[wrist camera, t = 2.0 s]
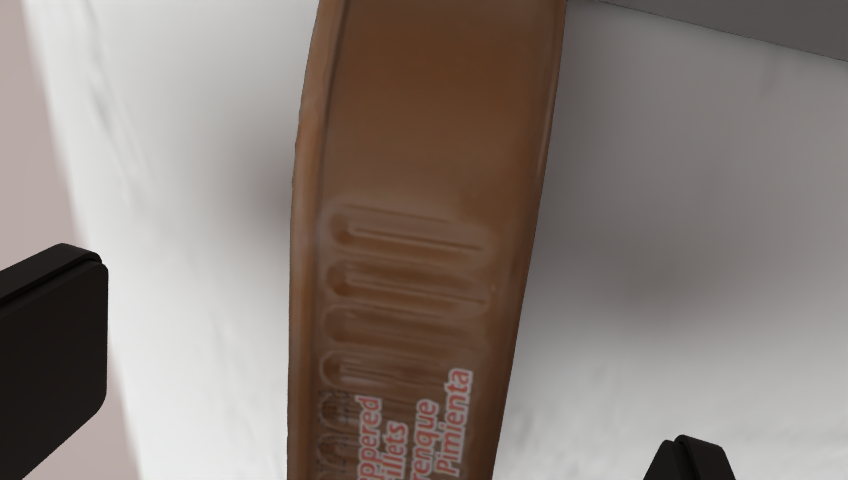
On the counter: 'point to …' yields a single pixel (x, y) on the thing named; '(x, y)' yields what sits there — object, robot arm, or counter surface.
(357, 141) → the tin
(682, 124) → the counter surface
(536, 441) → the counter surface
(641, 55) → the counter surface
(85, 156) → the counter surface
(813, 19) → the flat grey bar
